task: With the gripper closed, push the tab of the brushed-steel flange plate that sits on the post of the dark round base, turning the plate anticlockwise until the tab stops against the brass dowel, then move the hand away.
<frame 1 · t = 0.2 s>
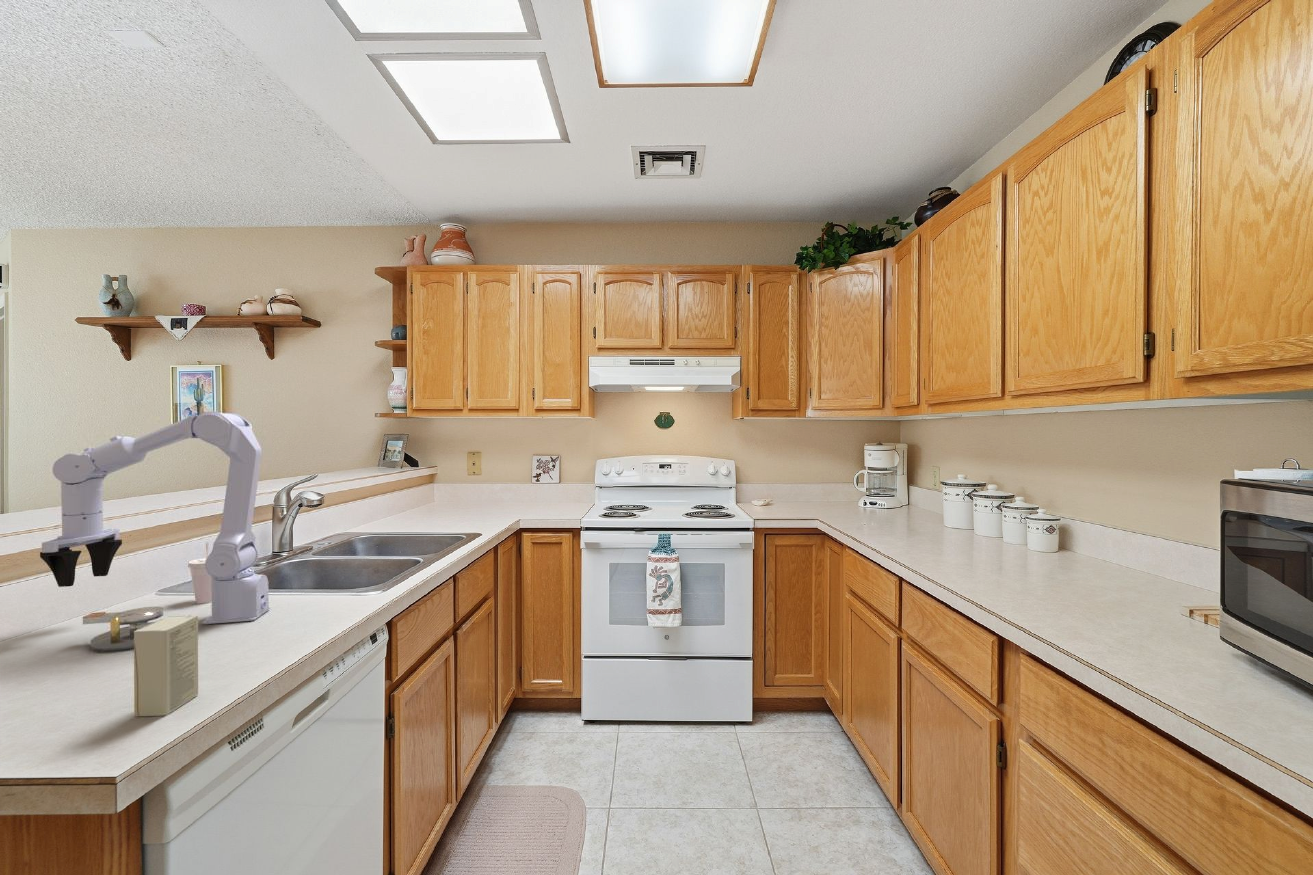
hand: (83, 580, 109), 10 cm above the countertop, tool pointing down, fingers open, 7 cm apart
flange: (124, 615, 104), point 5 cm above the countertop, hinge at 0.0°
base: (139, 638, 104), on the countertop
skincare box: (167, 707, 78), on the countertop
smoothie: (206, 602, 128), on the countertop
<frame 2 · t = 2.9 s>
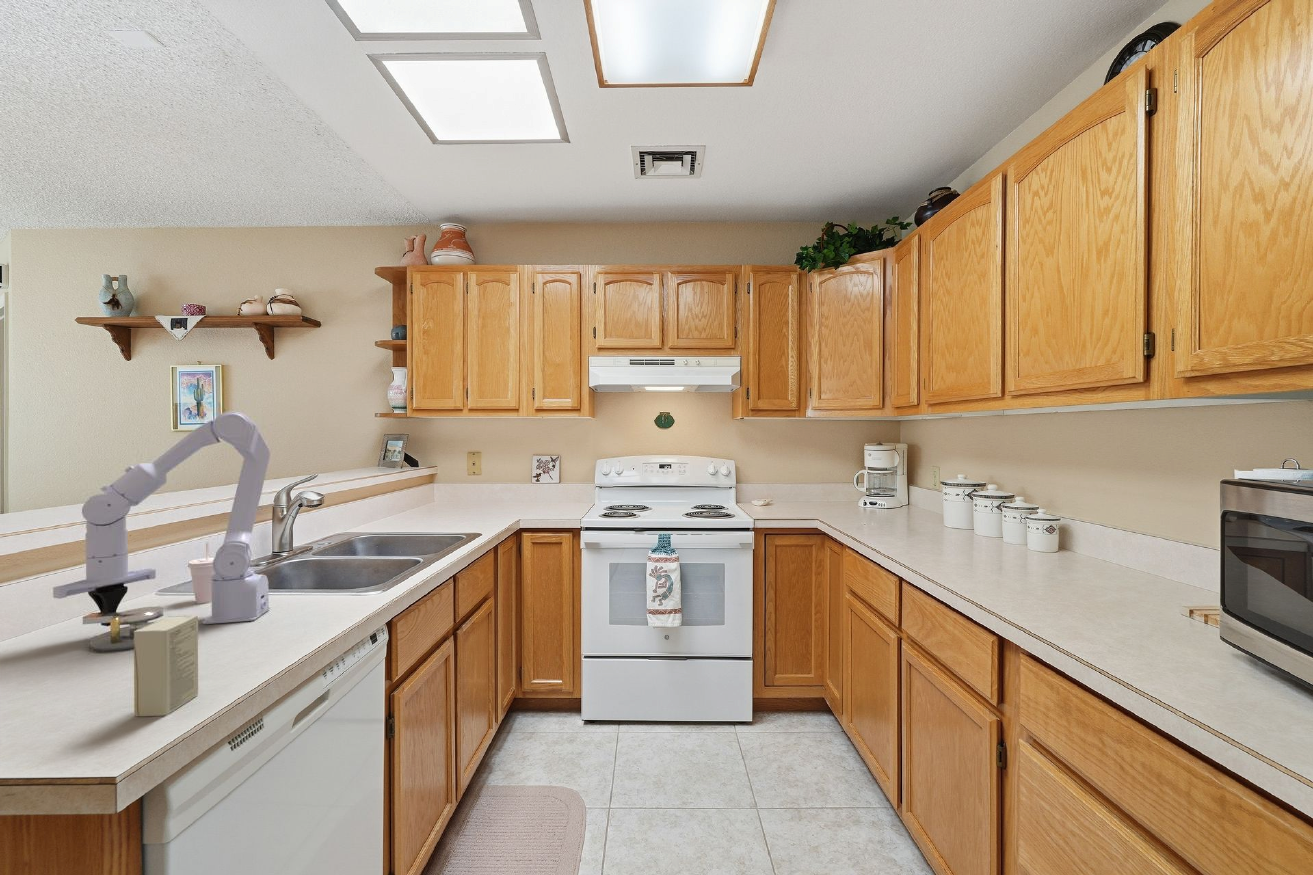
hand: (108, 624, 105), 2 cm above the countertop, tool pointing down, fingers closed, pressing on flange
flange: (124, 615, 104), point 5 cm above the countertop, hinge at 0.1°, touching gripper
everything else where it was.
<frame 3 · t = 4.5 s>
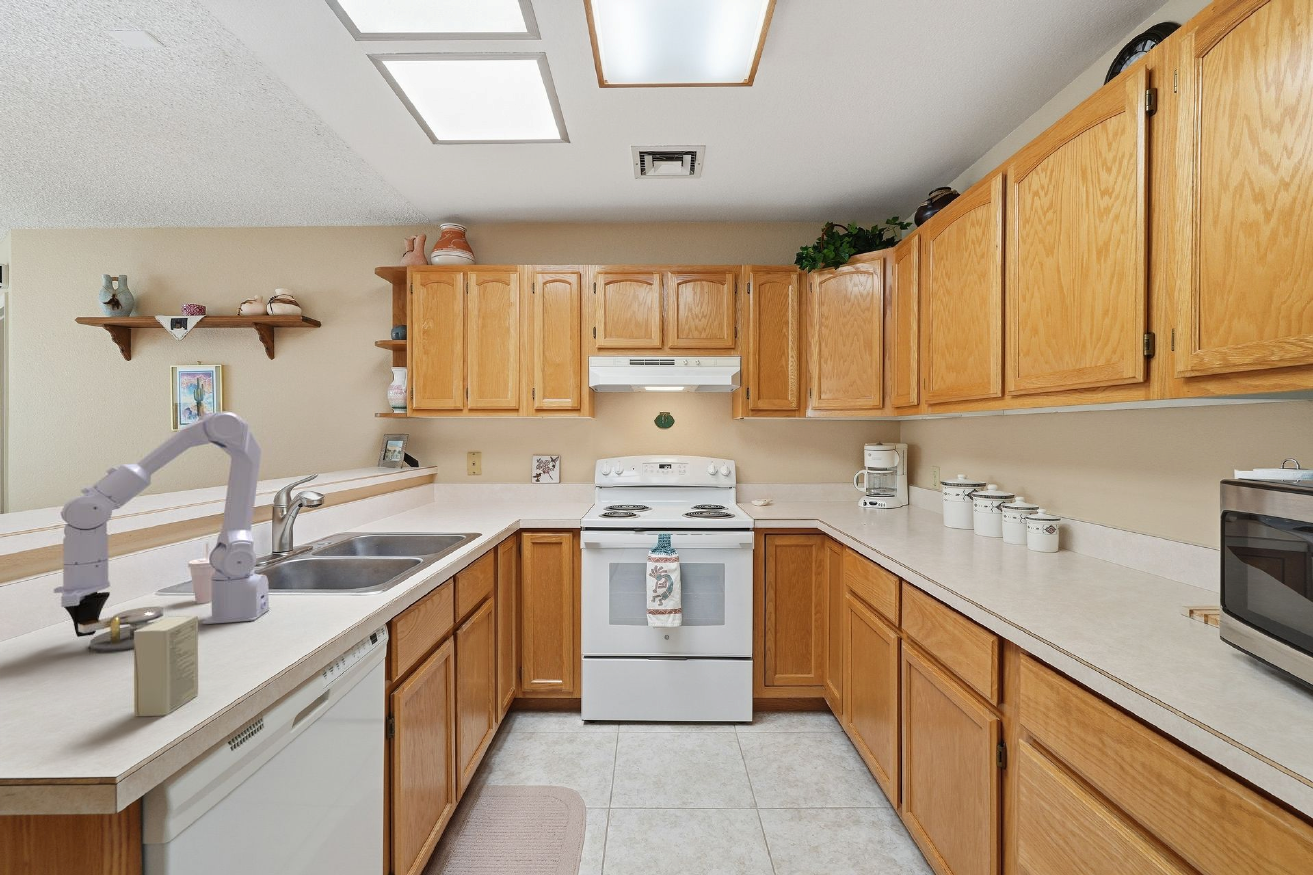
hand: (86, 635, 100), 2 cm above the countertop, tool pointing down, fingers closed, pressing on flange
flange: (123, 618, 102), point 5 cm above the countertop, hinge at 49.6°, touching gripper
everything else where it was.
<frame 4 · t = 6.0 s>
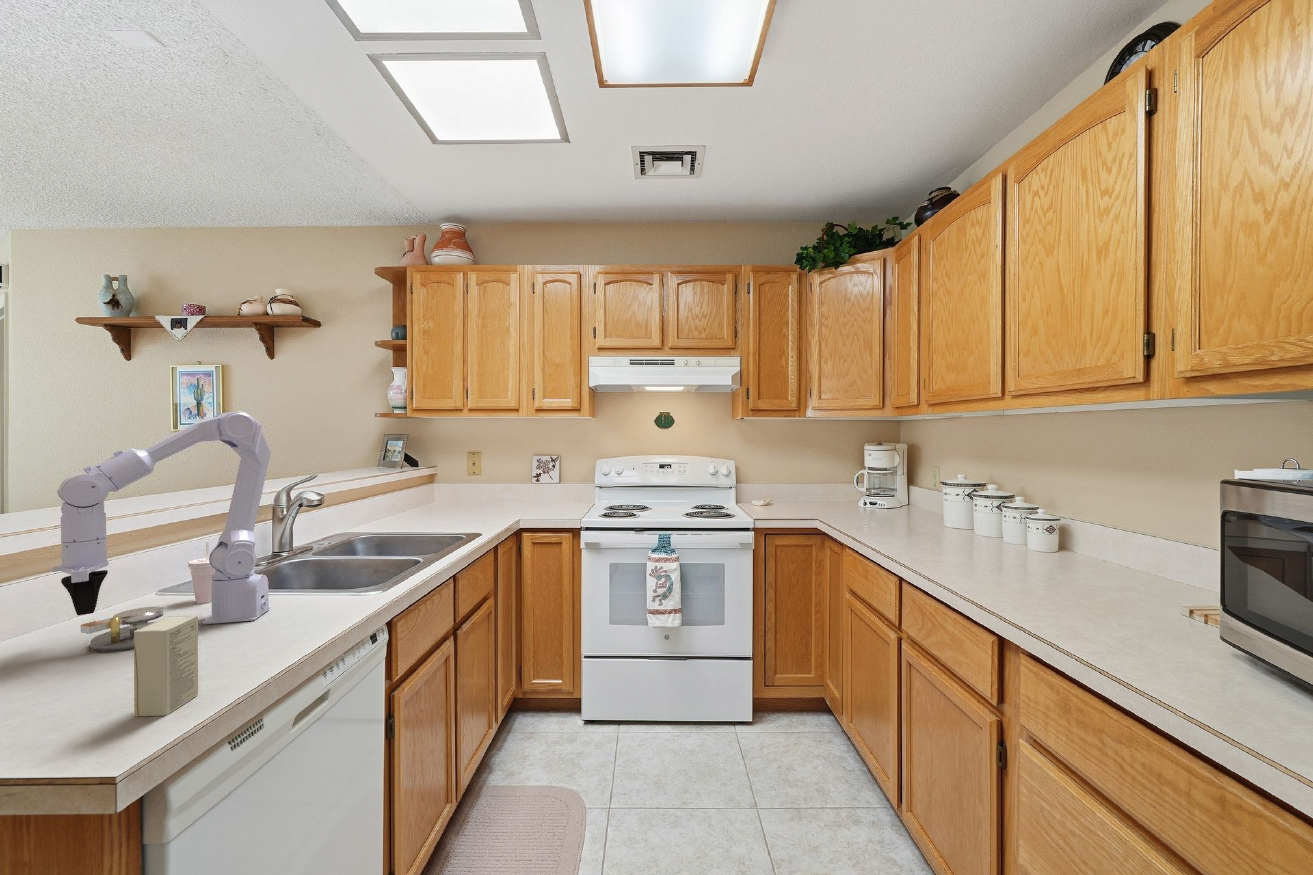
hand: (85, 613, 99), 7 cm above the countertop, tool pointing down, fingers closed
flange: (124, 618, 102), point 5 cm above the countertop, hinge at 58.9°, touching base
everything else where it was.
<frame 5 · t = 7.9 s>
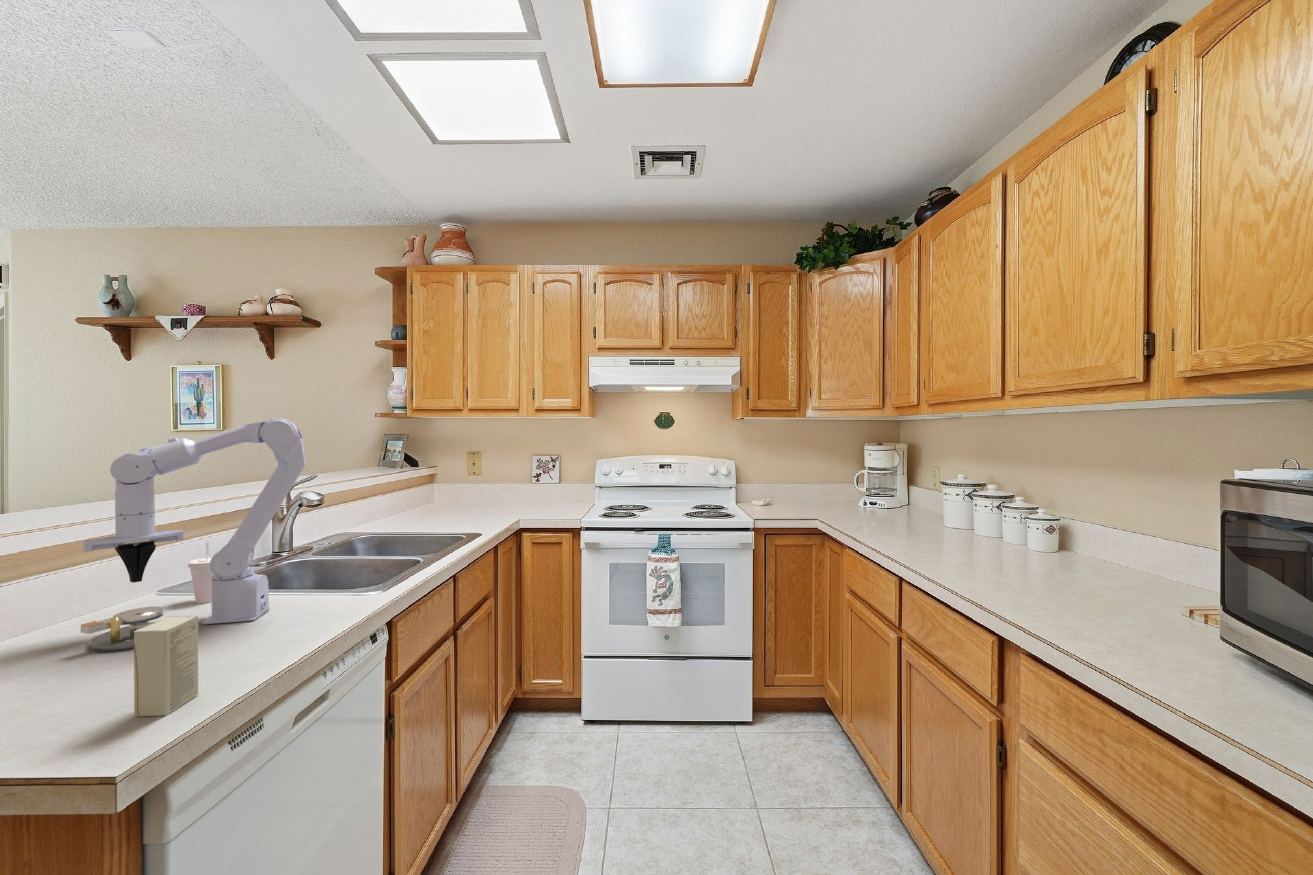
hand: (135, 581, 109), 10 cm above the countertop, tool pointing down, fingers closed
nothing on the countertop moved.
at the end: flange at +59° (first picture: +0°); smoothie moved 0.2 cm from its start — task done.
